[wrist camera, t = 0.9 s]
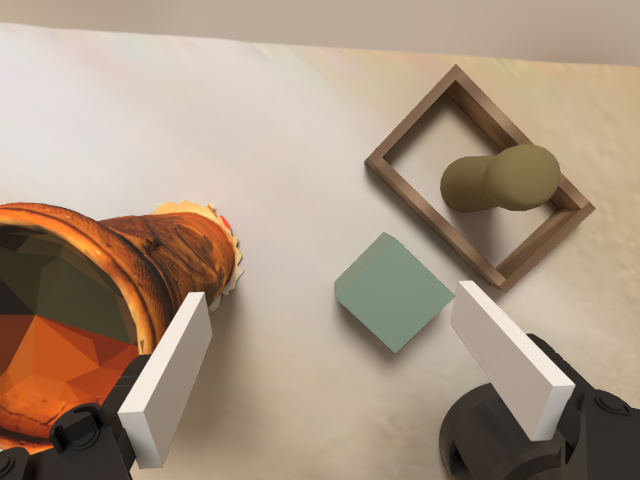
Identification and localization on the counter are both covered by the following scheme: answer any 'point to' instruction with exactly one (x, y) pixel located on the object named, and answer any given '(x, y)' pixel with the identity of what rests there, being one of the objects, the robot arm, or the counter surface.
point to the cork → (502, 180)
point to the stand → (391, 292)
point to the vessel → (94, 301)
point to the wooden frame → (505, 137)
